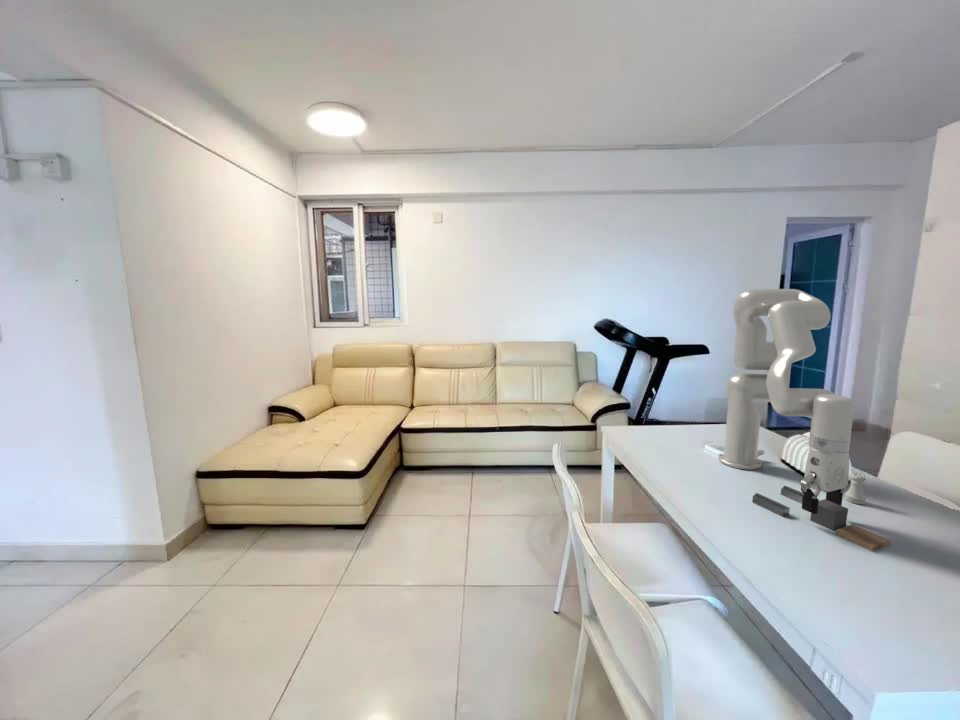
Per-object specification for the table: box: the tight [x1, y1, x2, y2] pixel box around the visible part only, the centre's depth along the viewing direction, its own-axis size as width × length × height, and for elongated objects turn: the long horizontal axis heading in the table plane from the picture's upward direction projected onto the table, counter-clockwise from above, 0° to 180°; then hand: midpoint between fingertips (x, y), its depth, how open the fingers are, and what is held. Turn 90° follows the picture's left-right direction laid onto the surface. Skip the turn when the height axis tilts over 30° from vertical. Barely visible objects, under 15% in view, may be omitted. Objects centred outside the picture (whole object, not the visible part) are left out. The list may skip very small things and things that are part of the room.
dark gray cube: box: [809, 498, 849, 532], centre depth 98 cm, size 5×5×5 cm
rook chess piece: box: [843, 472, 867, 506], centre depth 109 cm, size 4×4×8 cm
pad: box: [834, 523, 891, 552], centre depth 92 cm, size 7×7×1 cm
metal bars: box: [752, 485, 803, 517], centre depth 108 cm, size 14×8×2 cm, turn 110°
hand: (821, 507), depth 99 cm, fingers open, 9 cm apart
